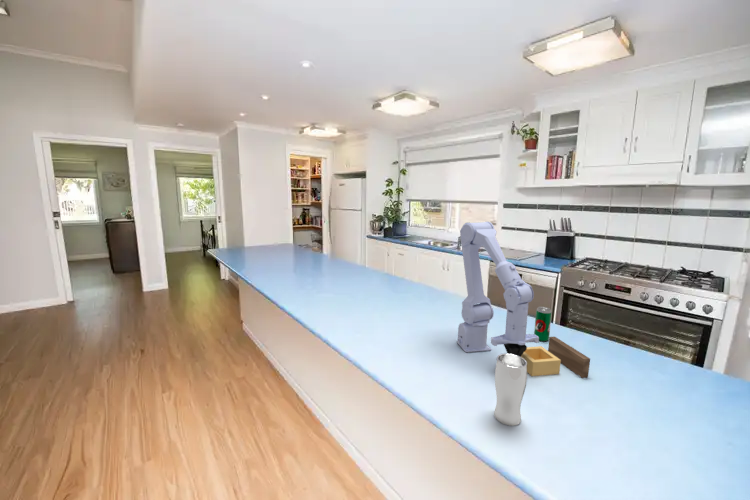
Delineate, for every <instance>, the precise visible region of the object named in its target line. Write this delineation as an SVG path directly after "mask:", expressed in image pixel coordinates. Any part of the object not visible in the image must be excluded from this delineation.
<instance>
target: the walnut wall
mask: <svg viewBox="0 0 750 500" xmlns="http://www.w3.org/2000/svg"><path fill="white" fill-rule="evenodd" d="M547 348H548V349H547V351H549V352H550V353H552V354H553V355H554V356H556V357H557V358H559V359H560V360H561V363H560V364H561V365H563V366H564V367H566V368H567V369H568V370H570V371H571V372H573V373H575V375H577V376H578V377H580V378H582V379H584V378H585V379H587V378H589V374H590V373H589V371H590V363H591V358H590V357H588V356H586V354H584V353H582V352H580V350H579V351H578V350H577V349H576V348H574V347H572V346H570V344H567V343H566V342H565V341H563V340H561V339H559V338H558V337H557V336H549V340H548V347H547Z"/></svg>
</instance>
